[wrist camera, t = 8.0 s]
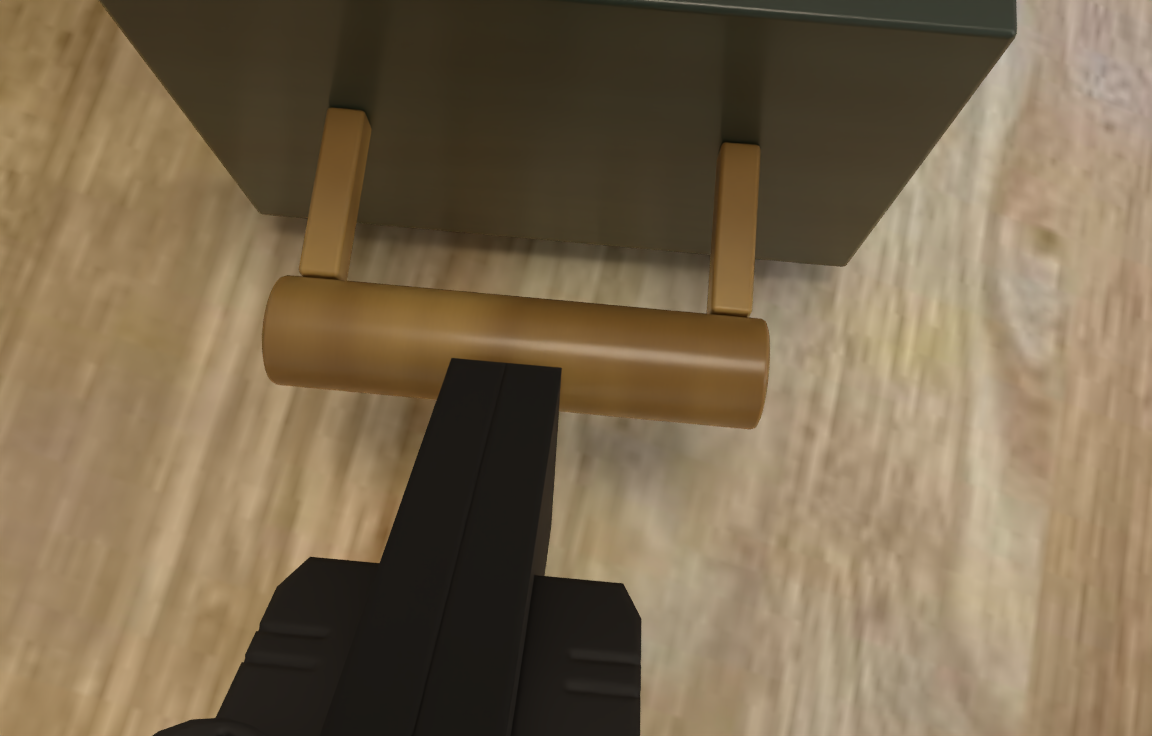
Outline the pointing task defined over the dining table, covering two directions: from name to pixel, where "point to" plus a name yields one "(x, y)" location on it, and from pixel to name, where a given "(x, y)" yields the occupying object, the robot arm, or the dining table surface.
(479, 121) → the drawer
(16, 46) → the dining table surface
